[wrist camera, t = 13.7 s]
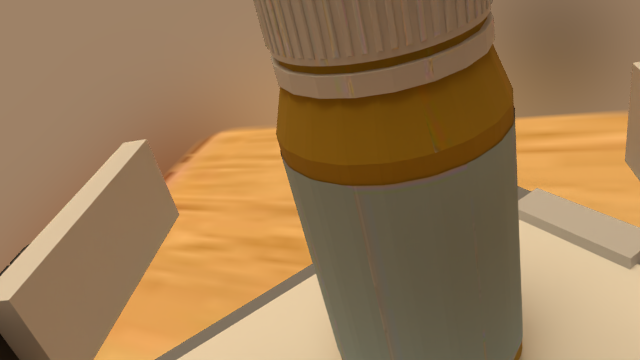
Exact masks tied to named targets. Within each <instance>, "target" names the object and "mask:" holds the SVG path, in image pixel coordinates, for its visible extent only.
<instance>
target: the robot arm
mask: <svg viewBox="0 0 640 360" xmlns="http://www.w3.org/2000/svg"><path fill="white" fill-rule="evenodd" d="M625 161H626V163H627V164H628V166H629V167H630V168H631V170H632V171H633V172H634V174H635V175H636V176H637V178H638V179H639V181H640V62H636V63H633V64H632V78H631V90H630V103H629V115H628V128H627V141H626V154H625ZM178 216H179V213H178V211H177V208H176V206H175V204H174V201H173V199H172V197H171V194H170V192H169V190H168V187H167V185H166V183H165V181H164V178H163V176H162V174H161V171H160V169H159V167H158V165H157V162H156V160H155V158H154V155H153V153H152V151H151V148H150V146H149V144H148V141H147V140H146V139H145V140H139V141H132V142H127V143H123V144H122V145H121V146H120V147H119V148H118V150H117V151H116V152H115V153H114V154H113V155H112V156H111V157H110V158H109V159H108V160H107V161H106V163H105V164H104V165H103V166H102V167H101V168H100V169H99V170H98V171H97V172H96V174H94V176H93V177H92V178H91V179H90V180H89V181H88V182H87V183H86V184H85V185H84V186H83V188H82V189H81V190H80V191H79V192H78V193H77V194H76V195H75V196H74V197H73V198H72V199H71V200H70V201H69V203H68V204H67V205H66V206H65V207H64V208H63V209H62V210H61V211H60V212H59V213H58V215H57V216H56V217H55V218H54V219H53V220H52V221H51V222H50V223H49V224H48V225H47V226H46V227H45V228H44V230H43V231H42V232H41V233H40V234H39V235H38V236H37V237H36V239H34V241H33V242H32V243H30V244H29V245H27V246H26V247H25V248H23V249H22V250H21V252H20V253H19V254H18V255H17V256H16V257H15V258H14V259H13V260H12V261H11V262H10V265H9V266H7V267H6V268H5V269H4V270H3V271H2V272H1V273H0V360H93V359H94V358H95V356H96V354H97V353H98V351H99V349H100V348H101V346H102V344H103V342H104V341H105V339H106V337H107V336H108V334H109V332H110V331H111V329H112V327H113V326H114V324H115V322H116V321H117V319H118V317H119V315H120V314H121V312H122V310H123V309H124V307H125V305H126V304H127V302H128V300H129V299H130V297H131V295H132V293H133V292H134V290H135V288H136V287H137V285H138V283H139V282H140V280H141V278H142V277H143V275H144V273H145V272H146V270H147V268H148V266H149V265H150V263H151V261H152V260H153V258H154V256H155V255H156V253H157V251H158V250H159V248H160V246H161V244H162V243H163V241H164V239H165V238H166V236H167V234H168V233H169V231H170V229H171V228H172V226H173V224H174V223H175V221H176V219H177V217H178Z"/></svg>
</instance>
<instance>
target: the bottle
mask: <svg viewBox="0 0 640 360" xmlns="http://www.w3.org/2000/svg"><path fill="white" fill-rule="evenodd" d="M253 1H254V5H255V8H256V12H257V16H258V19H259V23H260V26H261V30H262V34H263V37H264V41H265V44H266V47H267V48H268V49H269V50H270V53H271V60H272V64H273V67H274V70H275V75H276V78H277V81H278V85H279V86H280V94H279V106H278V119H277V131H276V135H277V139H278V142H279V145H280V149H281V151H280V152H281V156H282V159H283V163H284V166H285V169H286V173H287V176H288V180H289V183H290V187H291V190H292V193H293V197H294V200H295V204H296V207H297V210H298V214H299V217H300V221H301V224H302V228H303V231H304V234H305V238H306V241H307V245H308V248H309V252H310V255H311V258H312V262H313V265H314V269H315V272H316V275H317V279H318V282H319V286H320V289H321V293H322V296H323V299H324V303H325V306H326V310H327V313H328V317H329V320H330V323H331V327H332V330H333V334H334V337H335V340H336V344H337V347H338V350H339V352H340V355H341V358H342V360H519V358H520V356H521V353H522V338H523V319H522V293H521V266H520V239H519V213H518V186H517V159H516V132H515V108H514V105H513V88H512V86H511V83H510V81H509V79H508V77H507V74H506V72H505V70H504V68H503V66H502V64H501V61H500V59H499V57H498V55H497V52H496V50H495V48H494V46H493V42H494V40H495V34H494V18H493V15H492V13H491V12H490V10H491V4H492V2H493V0H253Z"/></svg>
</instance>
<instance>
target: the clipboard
mask: <svg viewBox="0 0 640 360" xmlns="http://www.w3.org/2000/svg"><path fill="white" fill-rule="evenodd" d="M518 213H519V239H520V266H521V293H522V319H523V338H522V353H521V356H520V358H519V360H640V228H639V227H636V226H634V225H631V224H629V223H626V222H624V221H621V220H618V219H616V218H613V217H611V216H608V215H605V214H603V213H600V212H598V211H595V210H592V209H590V208H587V207H585V206H582V205H580V204H577V203H574V202H572V201H569V200H567V199H564V198H561V197H559V196H556V195H554V194H551V193H549V192H546V191H543V190H541V189H538V188H536V189H535V190H533V191H532V192H531V191H528V190H526V189H523V188H521V187H518ZM155 360H342V358H341V355H340V352H339V350H338V347H337V344H336V340H335V337H334V334H333V330H332V327H331V323H330V320H329V317H328V313H327V310H326V306H325V303H324V299H323V296H322V293H321V289H320V286H319V282H318V279H317V275H316V272H315V269H314V265H313V264H311V265H310V266H308V267H306V268H305V269H303V270H302V271H300V272H298V273H297V274H295V275H293V276H292V277H290V278H288V279H287V280H285V281H283V282H282V283H280V284H279V285H277V286H275V287H274V288H272V289H270V290H269V291H267V292H265V293H264V294H262V295H260V296H259V297H257V298H255V299H254V300H252V301H251V302H249V303H247V304H246V305H244V306H242V307H241V308H239V309H237V310H236V311H234V312H232V313H231V314H229V315H228V316H226V317H224V318H223V319H221V320H219V321H218V322H216V323H214V324H213V325H211V326H209V327H208V328H206V329H204V330H203V331H201V332H200V333H198V334H196V335H195V336H193V337H191V338H190V339H188V340H186V341H185V342H183V343H181V344H180V345H178V346H176V347H175V348H173V349H172V350H170V351H168V352H167V353H165V354H163V355H162V356H160V357H158V358H157V359H155Z"/></svg>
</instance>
